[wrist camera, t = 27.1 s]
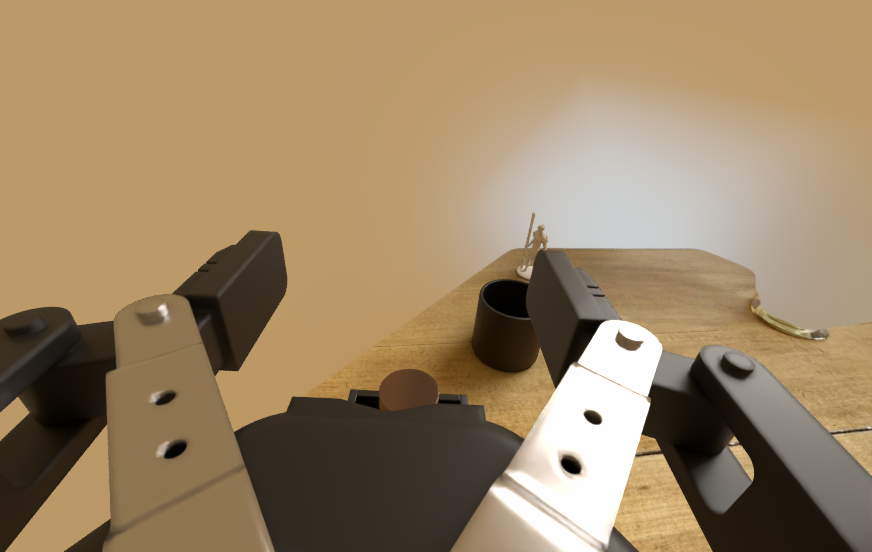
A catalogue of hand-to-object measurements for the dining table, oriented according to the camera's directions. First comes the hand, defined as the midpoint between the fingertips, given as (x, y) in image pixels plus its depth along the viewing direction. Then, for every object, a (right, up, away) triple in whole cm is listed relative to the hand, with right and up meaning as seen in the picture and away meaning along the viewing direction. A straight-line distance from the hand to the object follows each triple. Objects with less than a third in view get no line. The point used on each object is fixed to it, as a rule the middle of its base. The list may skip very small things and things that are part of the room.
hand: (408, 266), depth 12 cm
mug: (+11, -10, +43) cm, 45 cm away
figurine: (+19, 0, +61) cm, 64 cm away
